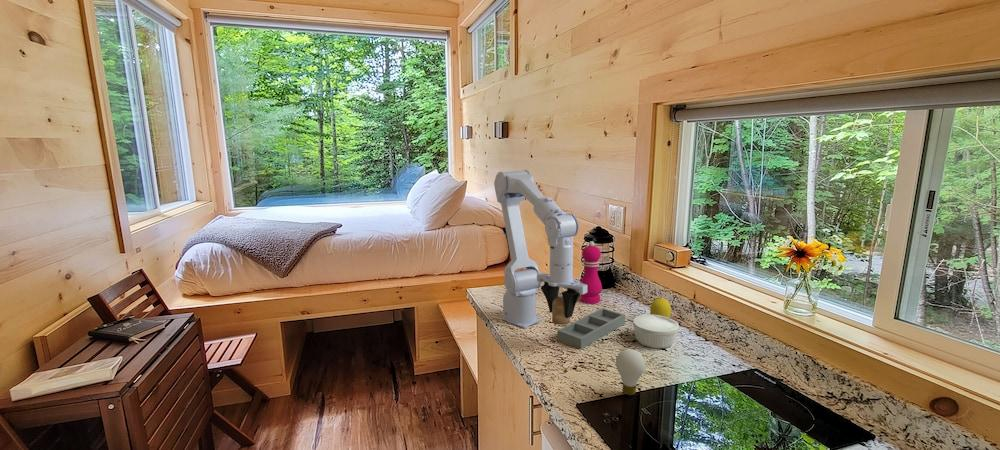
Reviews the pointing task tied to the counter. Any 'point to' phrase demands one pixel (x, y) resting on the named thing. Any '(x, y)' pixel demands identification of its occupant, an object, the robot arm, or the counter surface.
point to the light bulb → (630, 369)
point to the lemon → (660, 307)
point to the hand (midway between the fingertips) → (560, 314)
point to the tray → (590, 328)
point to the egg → (559, 311)
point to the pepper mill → (591, 274)
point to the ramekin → (655, 330)
